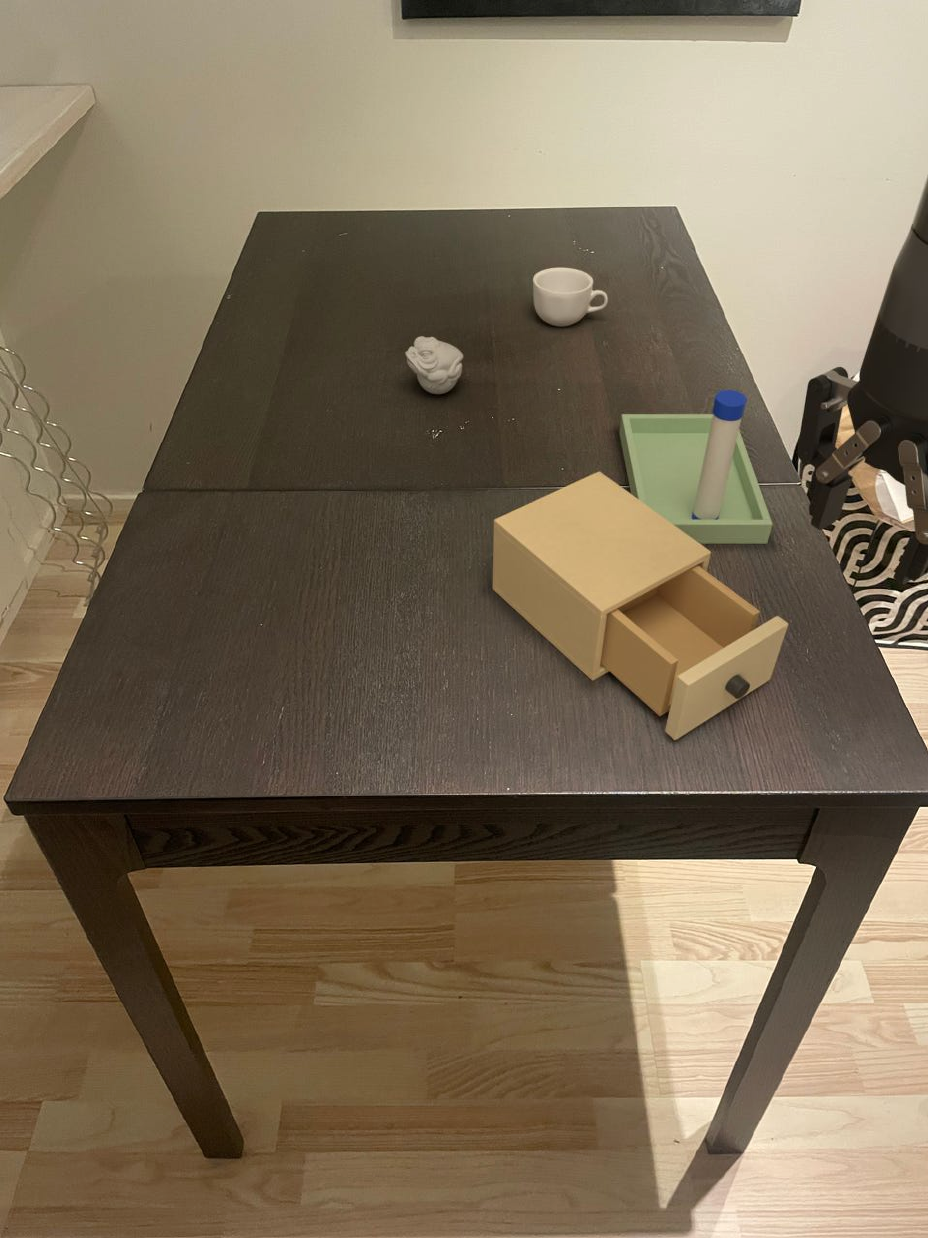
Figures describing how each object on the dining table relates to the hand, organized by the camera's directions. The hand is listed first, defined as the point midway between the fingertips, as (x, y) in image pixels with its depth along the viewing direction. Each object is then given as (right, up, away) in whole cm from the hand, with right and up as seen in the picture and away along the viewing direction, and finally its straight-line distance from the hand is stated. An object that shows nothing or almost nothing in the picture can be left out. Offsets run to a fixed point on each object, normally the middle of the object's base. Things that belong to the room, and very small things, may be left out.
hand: (864, 549), depth 64 cm
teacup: (-13, +35, +64) cm, 74 cm away
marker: (-2, +5, +33) cm, 33 cm away
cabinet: (-15, -3, +25) cm, 29 cm away
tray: (-3, +10, +38) cm, 39 cm away
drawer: (-9, -9, +18) cm, 22 cm away
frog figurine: (-30, +23, +51) cm, 64 cm away
